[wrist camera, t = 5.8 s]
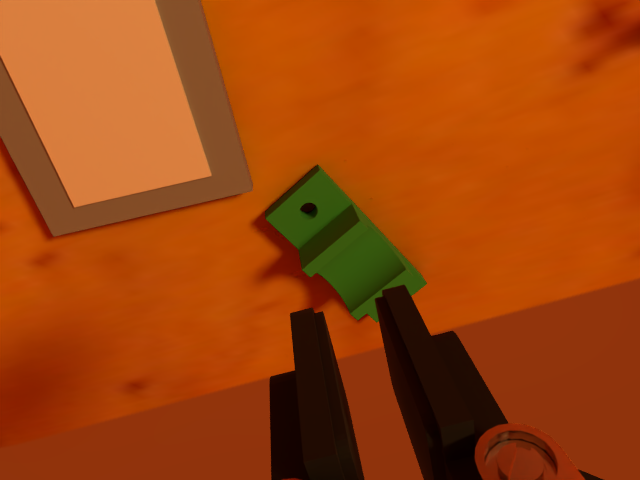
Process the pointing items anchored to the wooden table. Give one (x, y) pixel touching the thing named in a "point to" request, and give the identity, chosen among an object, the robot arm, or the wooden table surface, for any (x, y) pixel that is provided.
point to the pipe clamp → (341, 244)
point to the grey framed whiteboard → (115, 109)
